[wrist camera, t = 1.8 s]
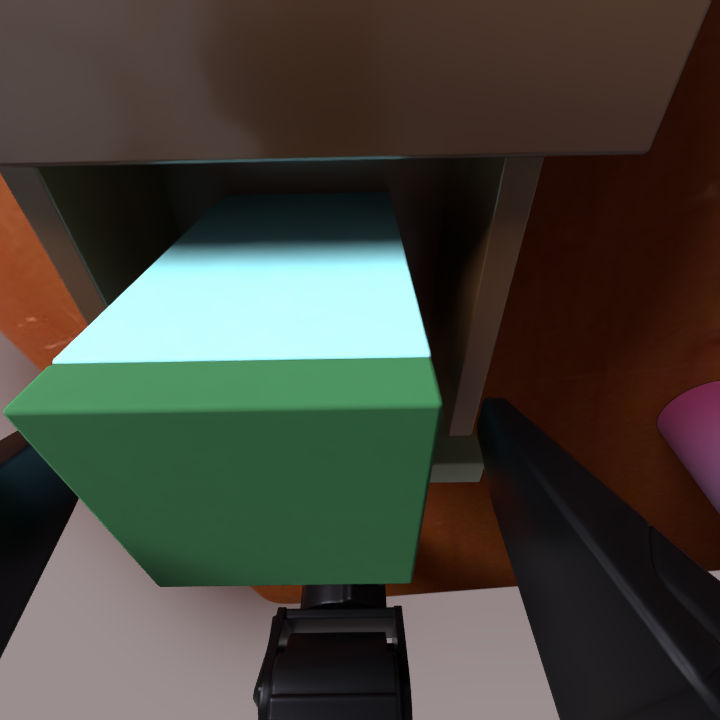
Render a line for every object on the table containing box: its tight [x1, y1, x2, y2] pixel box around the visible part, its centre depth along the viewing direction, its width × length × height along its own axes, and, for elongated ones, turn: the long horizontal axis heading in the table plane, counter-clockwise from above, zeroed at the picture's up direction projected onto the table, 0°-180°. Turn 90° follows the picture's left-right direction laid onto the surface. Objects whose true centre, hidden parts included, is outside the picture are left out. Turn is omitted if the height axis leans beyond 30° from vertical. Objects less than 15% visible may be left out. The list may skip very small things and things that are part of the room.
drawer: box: [0, 157, 544, 483], centre depth 14 cm, size 17×12×6 cm
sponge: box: [3, 192, 443, 587], centre depth 10 cm, size 6×6×10 cm
